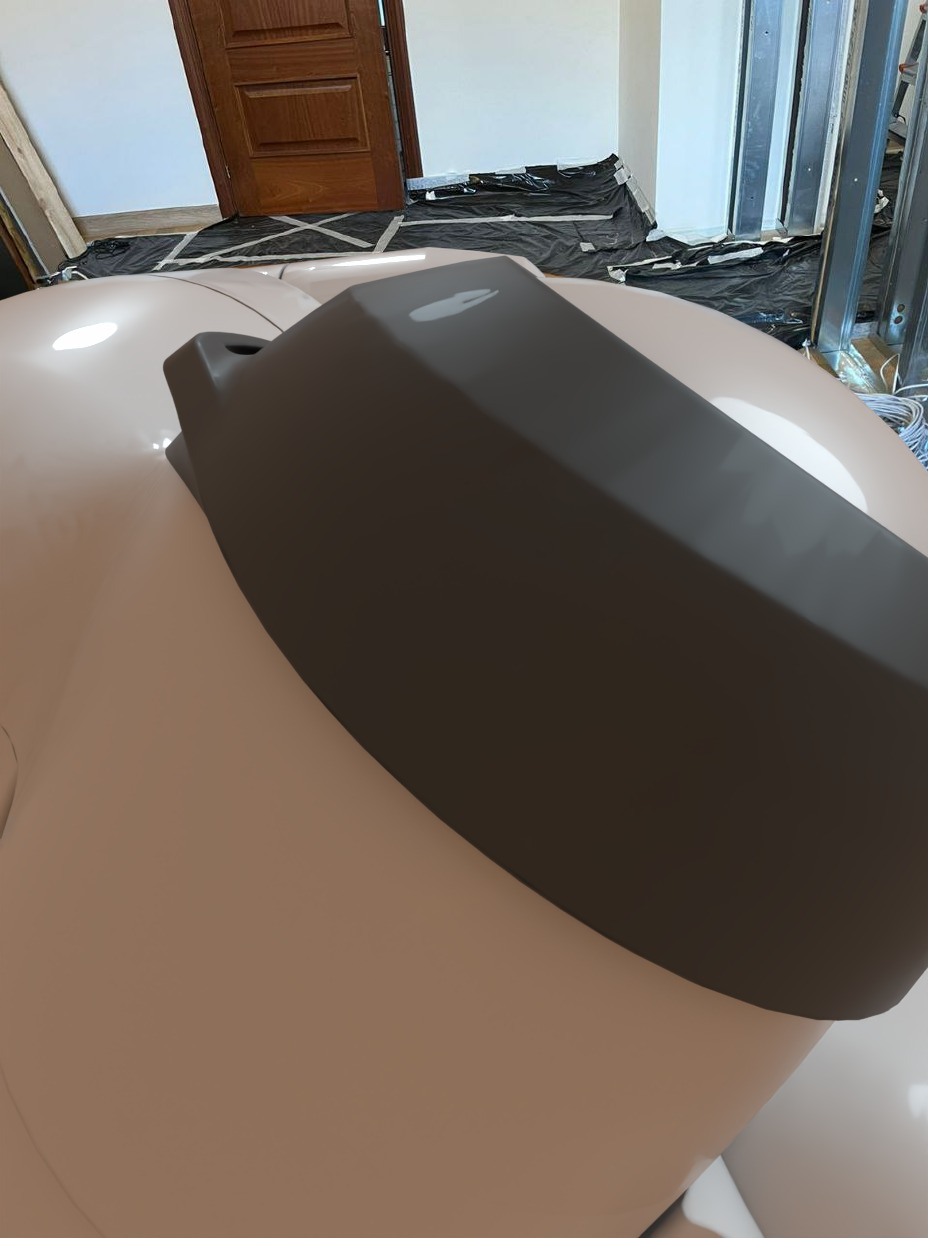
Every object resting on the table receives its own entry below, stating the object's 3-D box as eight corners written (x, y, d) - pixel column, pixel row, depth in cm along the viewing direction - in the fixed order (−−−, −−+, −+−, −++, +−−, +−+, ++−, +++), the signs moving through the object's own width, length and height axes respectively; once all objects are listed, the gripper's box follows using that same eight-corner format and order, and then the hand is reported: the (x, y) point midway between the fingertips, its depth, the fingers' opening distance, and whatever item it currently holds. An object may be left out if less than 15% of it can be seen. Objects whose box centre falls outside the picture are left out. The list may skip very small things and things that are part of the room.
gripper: (1129, 710, 51) (960, 581, 62) (830, 817, 48) (704, 662, 58) (1092, 777, 55) (938, 645, 66) (813, 880, 52) (698, 725, 62)
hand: (826, 654), depth 62 cm, fingers open, 8 cm apart
